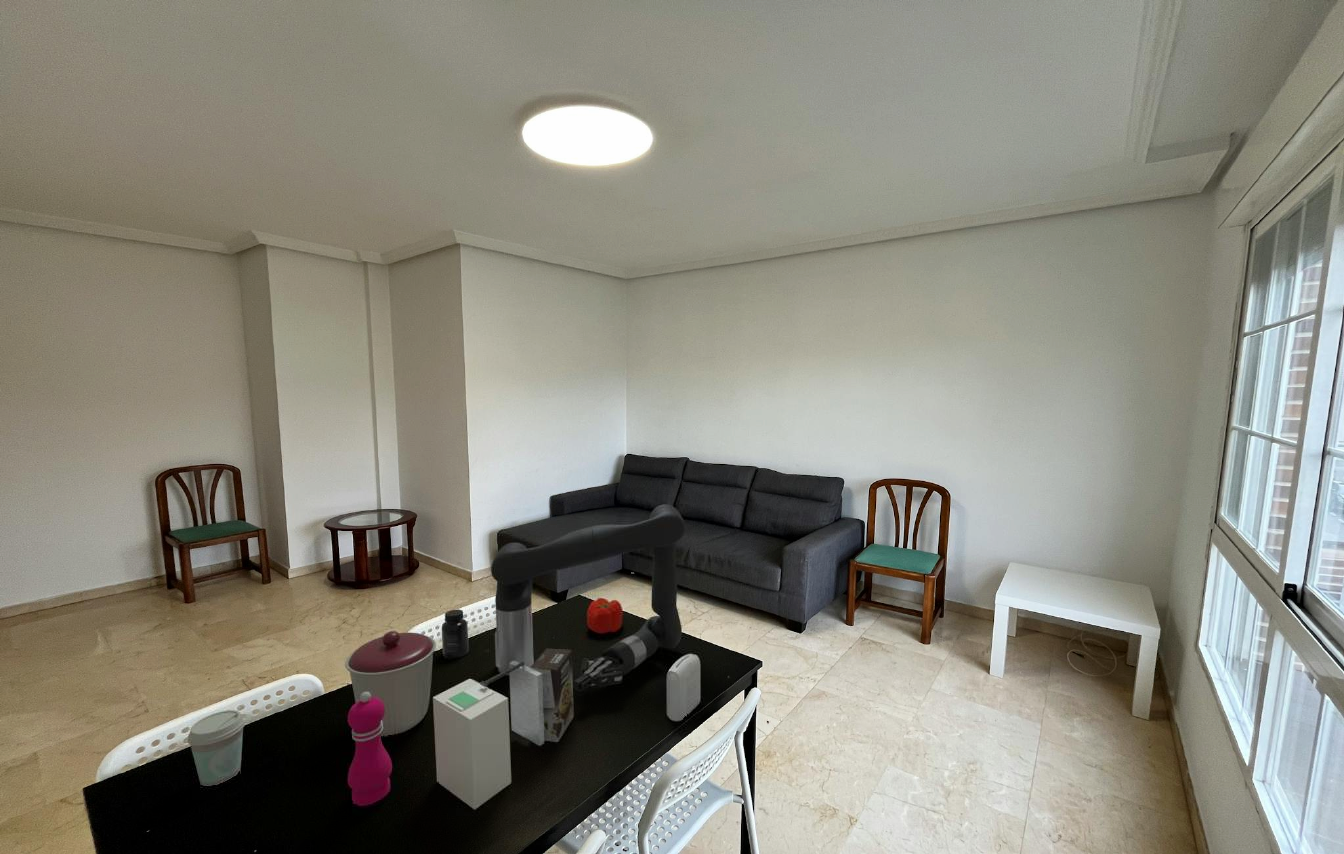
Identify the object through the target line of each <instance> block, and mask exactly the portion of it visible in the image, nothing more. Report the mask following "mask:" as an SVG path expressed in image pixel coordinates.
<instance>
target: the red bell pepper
mask: <svg viewBox="0 0 1344 854" xmlns="http://www.w3.org/2000/svg"><path fill="white" fill-rule="evenodd" d="M586 612H587V613H586V621H587V627H588V628H589V630H591V631H593V632H594V633H597V634H607V633H615V632H617V631H619V629H621V627H622V624H623V615H624V613H623V607H622V604H621V603H620V602H619V600H617V599H613V600H611V601H609V600H608V599H606V598H603V597H599V598H597V599H596V600H593V601H592V602H590V605H589V606H588V608H587V611H586Z"/></svg>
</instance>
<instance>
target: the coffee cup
mask: <svg viewBox="0 0 1344 854" xmlns="http://www.w3.org/2000/svg"><path fill="white" fill-rule="evenodd" d="M245 725H246V720H245V718H244V716H243V715H242V713H241V712H240V711H239V710H234V709H229V710H227V709H226V710H222V711H218V712H215V713H212V714H209V715H207V716H205V717H203V718H201V719H200V720H198V721H196V722H195V723H194V724H193V725H192V726H191V727H190V731H189V733H188V735H187V736H188V737H187V743H188V744H189V745H190V749H191V752H192V757H193V759H194V764H195V767H196V771H197V775H198V778H199V779H198V780H199V783H200V786H201V785H203V786H212V785H218V784H220V783H223V782H225V781H227V780H229V779H231V778H232V777H234V776H236V775H237V774H238V772H239V771H240V772H241V767H242V751H243V749H242V748H243V735H244V733H243V732H244V727H245Z"/></svg>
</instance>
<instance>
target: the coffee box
mask: <svg viewBox="0 0 1344 854" xmlns="http://www.w3.org/2000/svg"><path fill="white" fill-rule="evenodd" d="M533 662H534V663H533V664H532V666H531V667H530V668H531V669H534V670H536V671H538V672H540V673H542V686H543V716H544V742H545V741H547V742H553V743H558V742H559V741H560V740H561V738H562V737H563V735H564V733H565V731H566V730H567V729H568V727H569V725H571V724H570V723H572V720H573V719H574V716H575V713H574V681H573V680H574V679H573V650H572V649H564V648H563V649H562V648H546V649H545V650H544V651H543V652H542V653H541V654H540V656H539V657H538V658H537V659H536V660H535V661H533Z"/></svg>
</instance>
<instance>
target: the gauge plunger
mask: <svg viewBox="0 0 1344 854" xmlns="http://www.w3.org/2000/svg"><path fill="white" fill-rule="evenodd" d="M508 673H510V675H509V695H510V717H511V718H510V721H511V722H510V723H511V731H513V732H514V733H516V734H518V735H520V736H521V737H523V738H525V739H527V741H530V742H532V743H534V744H535V745H537V746H539V747H540V746H543V744H545V740H544V716H543V686H542V673H540V672H538V671H536V670H534V669H531V668H529V667H527V666H526V664H525V663H524V662H521V663H518V662H516V661H512V662H510V663H509V669H507V670H506V671H504V672H502V673H500V672H499V674H496V675H494V676H492V677H491V678H488V679H487V680H485V681H484V680H482V681H480V682H479V683H480V685H482V686H484V687H487V688H488V686H489V684H491V683H493V682H495V681H497V680H498V679H500V678H502V677H505V676H507V675H506V674H508Z"/></svg>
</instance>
